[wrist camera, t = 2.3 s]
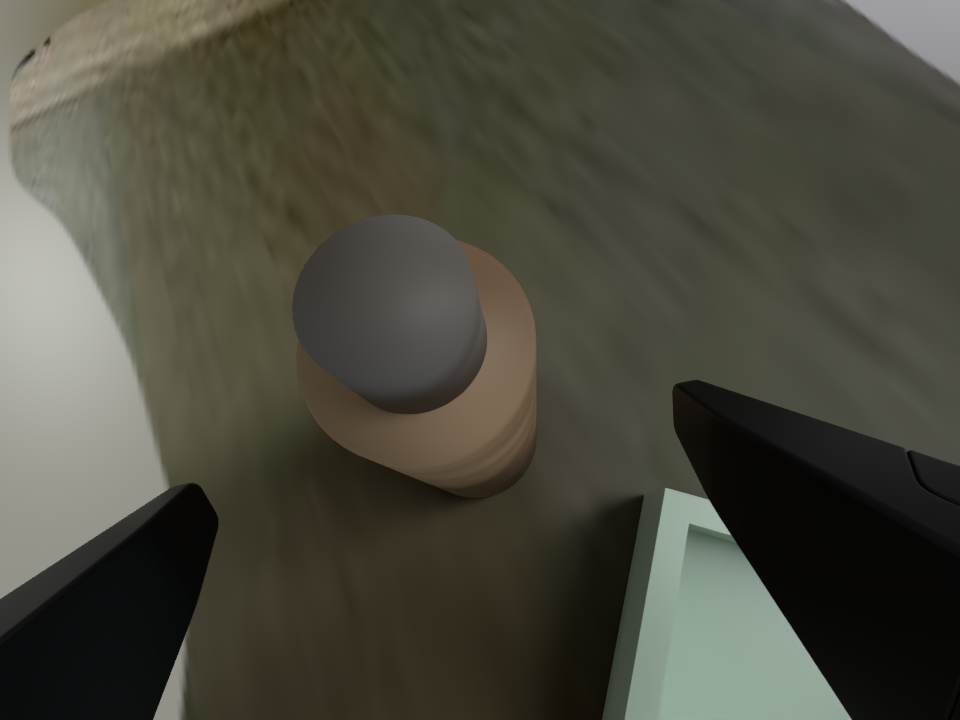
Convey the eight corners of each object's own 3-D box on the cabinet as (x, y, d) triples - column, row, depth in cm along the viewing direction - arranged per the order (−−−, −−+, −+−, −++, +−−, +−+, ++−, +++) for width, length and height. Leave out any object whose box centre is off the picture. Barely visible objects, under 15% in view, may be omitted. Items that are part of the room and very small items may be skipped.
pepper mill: (518, 514, 17) (485, 489, 6) (400, 478, 18) (183, 399, 7) (549, 394, 19) (568, 194, 8) (438, 366, 20) (305, 148, 8)
